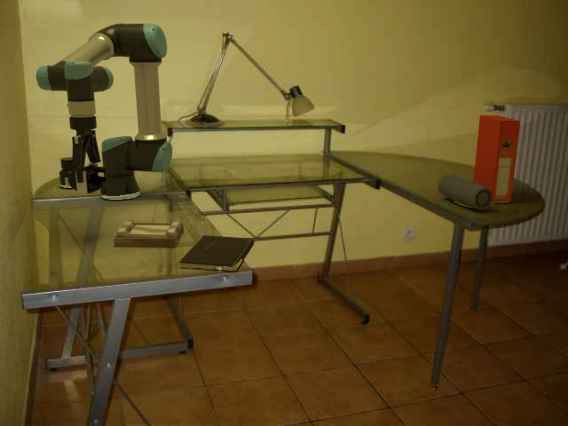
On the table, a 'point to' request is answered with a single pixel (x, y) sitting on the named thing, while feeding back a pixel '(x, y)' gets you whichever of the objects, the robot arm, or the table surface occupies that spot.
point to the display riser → (148, 234)
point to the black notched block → (90, 178)
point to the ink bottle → (65, 170)
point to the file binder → (496, 155)
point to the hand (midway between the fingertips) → (88, 188)
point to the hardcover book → (217, 252)
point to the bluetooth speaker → (465, 192)
